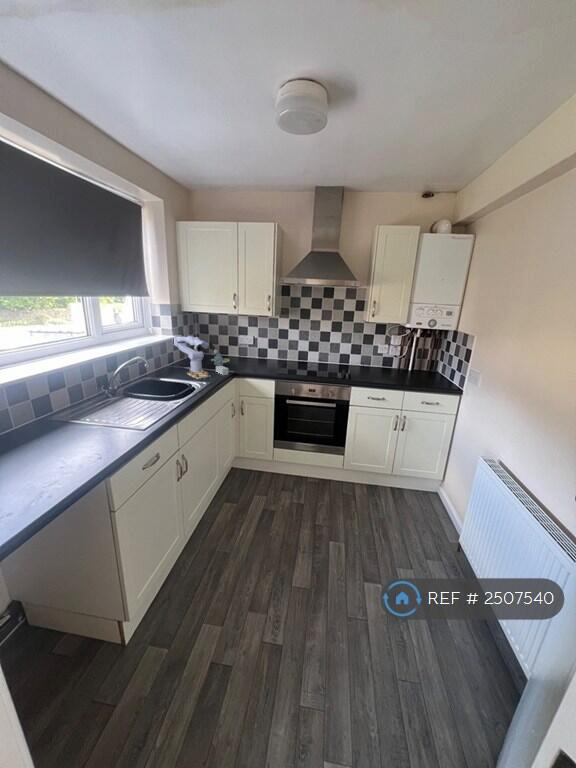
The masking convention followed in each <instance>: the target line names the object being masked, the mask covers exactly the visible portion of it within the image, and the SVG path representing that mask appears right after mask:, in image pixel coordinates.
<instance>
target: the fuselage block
mask: <svg viewBox="0 0 576 768" xmlns="http://www.w3.org/2000/svg"><path fill="white" fill-rule="evenodd" d="M216 372H218V373H217V374H219V373H220V374H219V375H221V374H222V375H221V376H225V375H226V376H227V375H229V368H228V367H225V366H224V365H222V366H216V365H215V373H216Z"/></svg>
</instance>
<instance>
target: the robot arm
mask: <svg viewBox="0 0 576 768" xmlns="http://www.w3.org/2000/svg"><path fill="white" fill-rule="evenodd" d="M173 338H174V344H173V346H175V347H176V348H178V350H179V351H181V352H182V353H184V354H186V355H188V358H189V360H190V362H189V364H190V368H189V371H190V370H191V371H193V372H198V371H199V369H201V370H203V369H202V368H203V366H202V361H203V359H204V356H205V355H204V353H205V352H206V350H207V349H209V350H213V351H214V350H216V349H215V346H214V343H213V342H212V341H209V342H206V341H205V340H202V339H201V340H200V337H198V336H196V337H194V336H191V335H188V336H173V337H172V339H173ZM188 344H189V345H190V346H194V349H192V348H191V347H188ZM203 371H205V370H203Z"/></svg>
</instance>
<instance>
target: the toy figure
mask: <svg viewBox="0 0 576 768" xmlns="http://www.w3.org/2000/svg"><path fill="white" fill-rule="evenodd" d="M218 351H219V350H217V349H215V350H213V354H215V356H214V358H212V359H210V361H211V362H214V364H213V365H215V367H216V366H224V365H223V364H225V363H228V362H230V358H225V357H224V358H223V356H222V355H221V353H220V352H218Z"/></svg>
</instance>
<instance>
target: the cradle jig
mask: <svg viewBox="0 0 576 768" xmlns="http://www.w3.org/2000/svg"><path fill="white" fill-rule="evenodd" d="M186 375H188V376H190V377H192V378H194V379H195V378H196V379H195V380H202V379H201V378H203V379H207V378H208V377H210V378H212V375H210V373H209V372H208V371H205V370H204V371H203V369H202V370H201V369H199V371H198V372H193V371H191V370H190V369H189V370H188V372H186ZM208 379H209V378H208Z"/></svg>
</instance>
